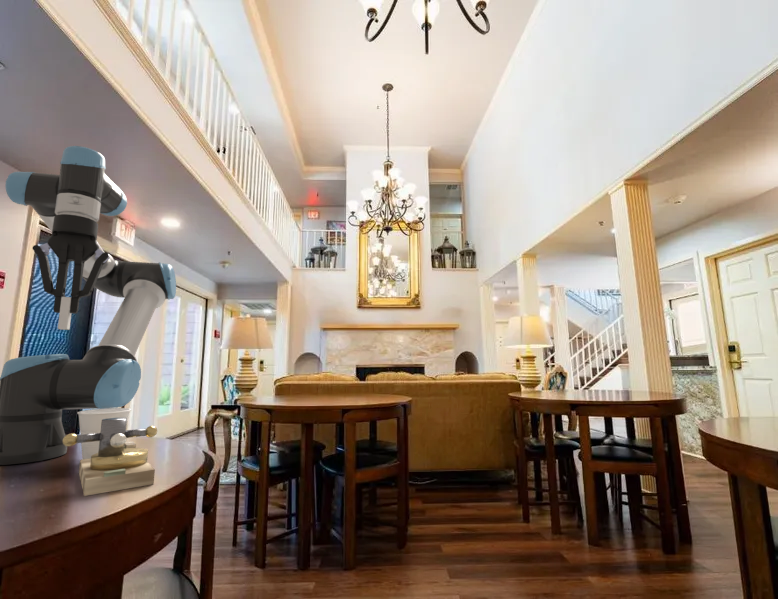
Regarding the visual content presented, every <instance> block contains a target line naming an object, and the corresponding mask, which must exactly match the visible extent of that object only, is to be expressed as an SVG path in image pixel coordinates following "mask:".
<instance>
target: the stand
mask: <svg viewBox="0 0 778 599" xmlns="http://www.w3.org/2000/svg"><path fill="white" fill-rule="evenodd" d="M126 448H137V444H136V442H135V441H126V442H125V446H124V449H126ZM90 463H91V458H89V459H79V468H78V475H79V480H80V485H81V488H82V494H83V496H84V497H87V496H93V495H97V494H103V493H104V494H105V493H108V492H109V493H110V492H115V491H121V490H127V489H133V488H139V487H143V486H150V485H154V484H155V471H156V470H155V469H156V468H154V467H153V466H152V464H151V463H149V462H148V460H147V461H146V462H145V463H143V464H140V465H136V466H131V467H126V468H119V469H106V470H100V469H92V468H90Z"/></svg>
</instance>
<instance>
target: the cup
mask: <svg viewBox="0 0 778 599" xmlns="http://www.w3.org/2000/svg"><path fill="white" fill-rule="evenodd" d="M131 411H132V408H128V407H127V408H126V407H118V408H104V409H83V410H81V411H76V412H77V415H78V421H79V422H78V423H79V433H80V434H79V435H84V434H95V433H100V431H101V422H102V420H103V419H108V418H127V421H129V417H130V413H131ZM80 446H81V458H82V459H89V458H91V456H92V455H94V454H96V453H98V451H99V441H94V442H85V443H80Z"/></svg>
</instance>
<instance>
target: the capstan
mask: <svg viewBox="0 0 778 599" xmlns="http://www.w3.org/2000/svg"><path fill="white" fill-rule="evenodd" d="M127 423H128V420H127V418H108V419H103V420H102V422H101V431H100V433H95V434H84V435H80V434H76V433H74V432H72V433H68V434H65V437H64V438H63V444H64V445H65V446H67V447H73V446H75V445H76V444H81V443H85V442H94V441H99V451H98V453H96V454H94V455H92V456H91V463H90V468H92V469H100V470H106V469H119V468H126V467H131V466H136V465H140V464H143V463H145V462H146V461H147V462H148V459H149V458H148V456H149V449H148V448H142V447H141V448H139V447H136V448H126V449H124V446H125V442H127V439H130V438H138V437H147V438H153V437H155V436H156V435H157V434H158V428H157V427H156V426H154V425H149V426H147V427H146V428H137V429H127V426H128V425H127Z"/></svg>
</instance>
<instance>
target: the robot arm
mask: <svg viewBox="0 0 778 599" xmlns="http://www.w3.org/2000/svg"><path fill="white" fill-rule="evenodd" d="M105 158H106V157H105V156H104V155H103V154H102V153H100V152H98V151H97V150H95V149H92V148H89V147H86V146H81V145H80V146H79V145H70V146H67V147H66V148H64V149H63V152H62V156H61V160H60V168H59V174H56V173H55V174H52V173H44V172H35V171H13V172H11V173H10V174H8V175H7V178H6V180H5V186H4V187H5V192H6V194H7V198H9V199H10V200H11V202H13V203H15V204H17V205H21V206H26V207H27V206H30V207H32V209H33V211H34V212H36V214H38V216H39V218H40V219H41V220H42V221H43V223H44V224H45V225H46V226H47V228H48V229H49V230H50V231H51V235H50V237H49V238H48V240H47V242H46V243H44V244H40V245H37V244H35V245H32V251H33V252H34V253H35V255H37V259H38V265H39V270H40V276H41V280H42V286H43V287H42V288H43V291H44V292H45V293H47V294H48V295H52V296H53V297H54V304H53V313H55V314H56V313H58V315H59V316H58V322H57V323H58V324H57V330H61V331H62V330H67V331H69V330H70V329H71V328H70V327H71V321H72V320H71V319H72V314H75V315H76V314H78V312H79V306H80V300H81V299H82V298H84V297H90V296H92V292H93V291H94V288H95V289H96V290H99V291H100V292H102V293H104V294H106V295H108V296H111V297H116V298H123V301H122V302H121V304H120V305H119V308H118V309H117V311H116V313H115V315H114V316H113V318H112V320H111V322H110V324H109V325H108V326H107V327H108V328H107V329H106V331H105V333H104V334H103V336H102V338H101V340H100V342H99V343H98V345H95V346H93V347H91V348H89V349H88V350H87V352H86V353H85V355H84V357H83V358H82V359H70V357H69V355H68V354H65V353H56V354H53V353H52V354H42V355H41V354H40V355H38V354H37V355H30V356H22V357H21V356H20V357H15V358H12V359H9V360H7V361H6V362H5V363H4V364H3V367H2V370H1V373H0V374H1V375H0V466H5V465H17V464H18V465H19V464H26V463H27V464H28V463H33V462H34V463H35V462H41V461H45V460H50V459H54V458H58V457H60V456H61V457H62V456H63V455H66V454H67V451H68V446H65V445H64V444H63V438H64V437H65V436H66V433H65V430H64V426H63V422H62V415H63V410H92V409H104V408H123V407H124V406H126V405H128V404H129V403H131V401H132V400H133V399H134V398H135V395H136V393H137V391H138V390H139V386H140V381H141V377H142V369H141V365H140V363H139V362H138V360H137V358H136V356H135V355H136V353H137V351H138V349H139V348H140V345H141V342H142V340H143V338H144V336H145V333H146V332H147V328H148V326H149V324H150V321H151V319H152V317H153V315H154V312H155V310H156V309H158V308H161V307H162V306H163V304H165V301H166V300H174V298H175V297H176V293H177V280H176V272H175V270H174V267H173V265H172V264H169V263H161V262H142V261H141V262H140V261H124V260H123V261H121V260H119V259H118V260H116V259H114V257H113V256H112V255H111V254H109V253H108V252H105V251H104V250H103V248H102V246H101V245H100V243H99V242H98V240H97V239H98V232H99V223H98V222H99V221H100V214H101V215H103V216H107V217H115V216H118V215H120V214H122V213H123V212H124V211H125V210H126V208H127V205H128V199H127V195H125V193H124V192H123V191H122V189H121V188H120V187H119V186H118V185H117V184H116V183H114V181H113V180H112V179H111V178H110V177H109V176H108V175H107V174H106V173H105V171H106V169H107V167H106V159H105ZM50 250H51V251H52V252H53V253H54V255H55V256H56V257H57V258H58V265H57V266H58V267H57V275H56V282H55V288H54V282H53V277H52V276H53V275H52V271H51V266H50V261H49V257H48V256H49V255H50ZM70 262H74V263H73V274H72V285H71V293H69V294H70V296H66V288H67V281H68V273H69V266H70ZM83 280H84V281H85V284H84V287H83V289H82V284H83Z"/></svg>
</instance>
